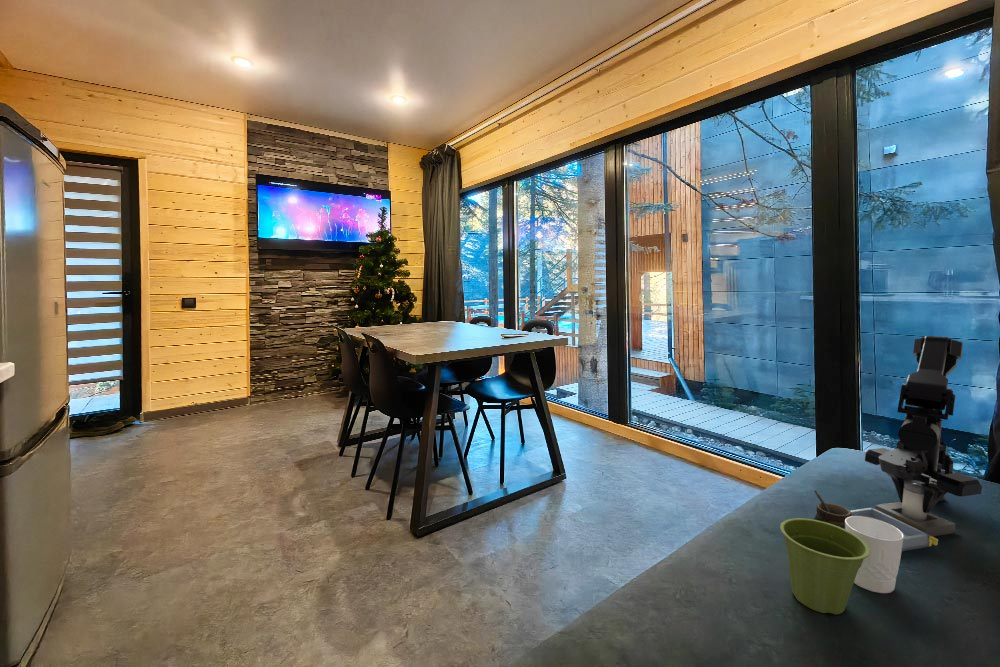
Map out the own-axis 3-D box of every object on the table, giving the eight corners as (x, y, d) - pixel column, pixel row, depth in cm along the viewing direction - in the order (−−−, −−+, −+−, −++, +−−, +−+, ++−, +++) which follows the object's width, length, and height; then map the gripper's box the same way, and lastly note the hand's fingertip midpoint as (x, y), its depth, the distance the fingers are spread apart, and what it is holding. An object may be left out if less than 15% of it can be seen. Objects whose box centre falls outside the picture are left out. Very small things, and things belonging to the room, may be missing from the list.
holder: (874, 513, 101) (875, 505, 100) (902, 509, 102) (903, 501, 102) (924, 537, 91) (925, 528, 91) (954, 532, 92) (955, 523, 92)
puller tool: (881, 522, 97) (882, 517, 96) (889, 521, 97) (890, 516, 97) (929, 546, 88) (929, 540, 88) (937, 544, 88) (938, 539, 88)
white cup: (849, 589, 76) (854, 534, 75) (834, 562, 83) (838, 512, 82) (907, 601, 73) (913, 544, 72) (887, 572, 80) (891, 520, 79)
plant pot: (870, 638, 65) (877, 568, 64) (776, 608, 72) (780, 543, 70) (858, 591, 75) (863, 529, 74) (776, 568, 82) (779, 511, 80)
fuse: (895, 519, 98) (899, 480, 97) (909, 517, 99) (913, 478, 98) (916, 528, 94) (920, 488, 93) (930, 526, 95) (934, 486, 94)
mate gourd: (842, 562, 83) (845, 511, 82) (800, 542, 90) (802, 495, 89) (862, 550, 87) (865, 502, 86) (819, 532, 93) (822, 487, 92)
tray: (837, 523, 97) (837, 512, 96) (870, 518, 99) (871, 507, 98) (891, 553, 86) (892, 541, 86) (928, 546, 88) (929, 535, 87)
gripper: (848, 427, 102) (843, 492, 104) (944, 458, 84) (936, 535, 85) (886, 424, 104) (880, 487, 106) (987, 453, 86) (979, 528, 88)
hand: (914, 507), depth 96 cm, fingers closed on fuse, 4 cm apart
